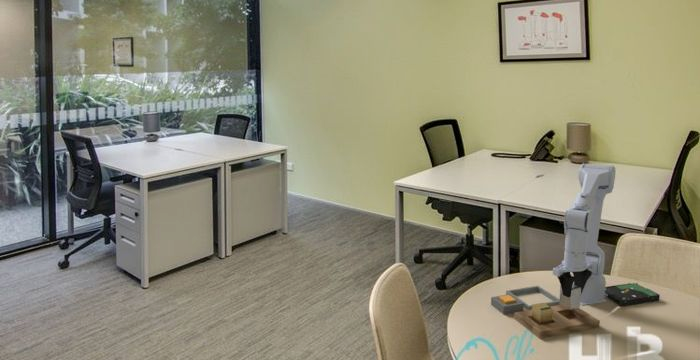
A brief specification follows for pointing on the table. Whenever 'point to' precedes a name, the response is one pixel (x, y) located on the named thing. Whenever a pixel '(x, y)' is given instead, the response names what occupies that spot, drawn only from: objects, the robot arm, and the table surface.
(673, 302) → the table surface
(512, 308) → the button housing
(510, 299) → the button
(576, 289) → the block
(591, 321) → the wooden pocket board
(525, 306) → the tray
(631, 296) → the disk drive
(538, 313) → the block
